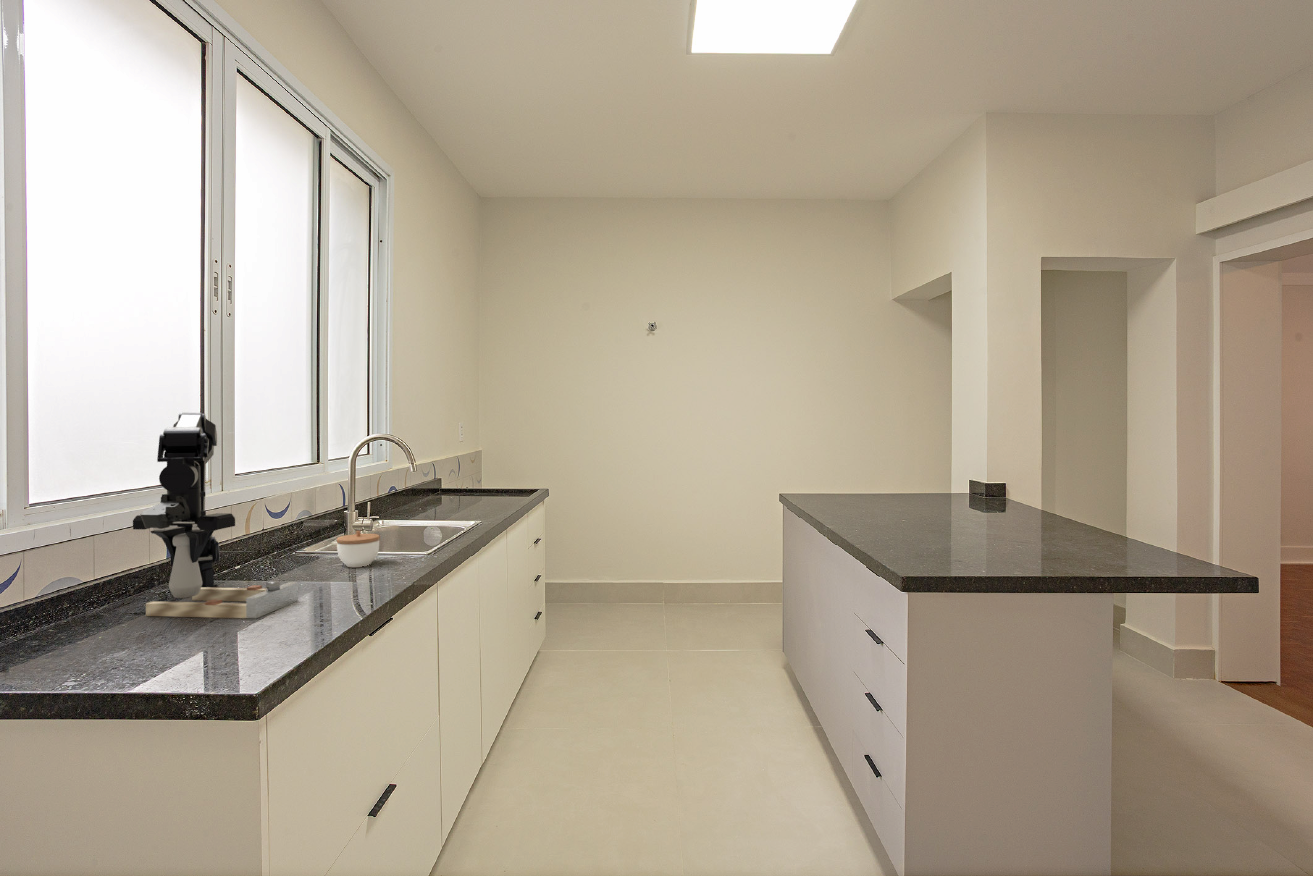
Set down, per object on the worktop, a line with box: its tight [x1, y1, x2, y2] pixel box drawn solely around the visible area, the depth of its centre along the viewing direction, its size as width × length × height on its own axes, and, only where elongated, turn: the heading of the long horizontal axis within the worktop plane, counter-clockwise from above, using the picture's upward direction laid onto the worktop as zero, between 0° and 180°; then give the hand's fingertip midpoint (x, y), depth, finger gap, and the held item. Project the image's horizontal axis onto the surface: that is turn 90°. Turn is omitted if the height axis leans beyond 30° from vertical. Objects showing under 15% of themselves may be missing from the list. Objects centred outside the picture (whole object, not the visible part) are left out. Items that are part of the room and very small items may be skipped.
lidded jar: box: [336, 530, 381, 568], centre depth 176 cm, size 11×11×9 cm
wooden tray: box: [145, 580, 299, 619], centre depth 135 cm, size 24×14×6 cm, turn 85°
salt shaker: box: [168, 533, 203, 599], centre depth 135 cm, size 6×6×13 cm
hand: (185, 562), depth 135 cm, fingers closed on salt shaker, 4 cm apart
